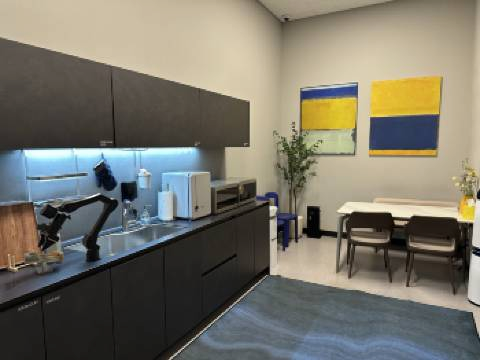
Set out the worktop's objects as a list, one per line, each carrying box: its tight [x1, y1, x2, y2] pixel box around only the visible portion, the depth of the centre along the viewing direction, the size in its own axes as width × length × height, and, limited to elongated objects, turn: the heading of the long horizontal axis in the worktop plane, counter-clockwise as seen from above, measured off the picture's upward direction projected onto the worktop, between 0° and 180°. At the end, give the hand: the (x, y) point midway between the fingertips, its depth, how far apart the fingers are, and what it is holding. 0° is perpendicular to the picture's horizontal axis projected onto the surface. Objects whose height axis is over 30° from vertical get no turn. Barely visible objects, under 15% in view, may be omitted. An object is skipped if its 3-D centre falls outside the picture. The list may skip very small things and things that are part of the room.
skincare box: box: [46, 233, 62, 254], centre depth 202 cm, size 8×6×15 cm
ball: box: [50, 251, 59, 256], centre depth 186 cm, size 4×4×4 cm
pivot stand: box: [35, 261, 54, 275], centre depth 183 cm, size 7×11×6 cm, turn 37°
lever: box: [23, 250, 65, 265], centre depth 183 cm, size 18×7×6 cm, turn 127°
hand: (40, 249), depth 180 cm, fingers open, 9 cm apart
